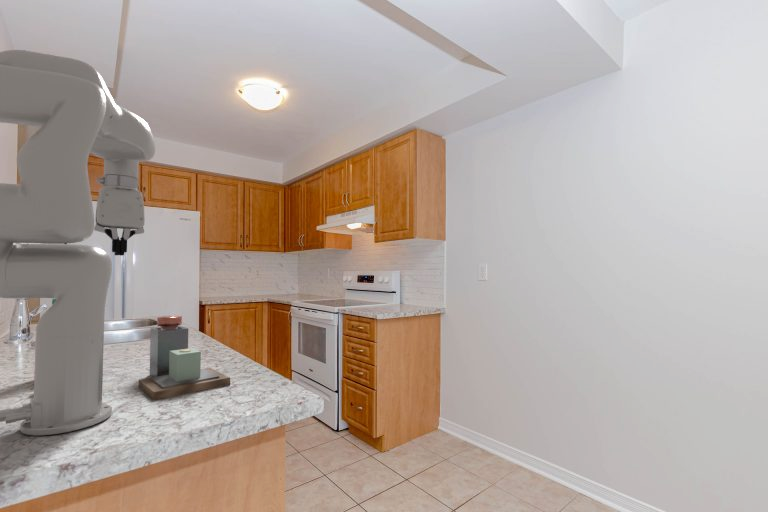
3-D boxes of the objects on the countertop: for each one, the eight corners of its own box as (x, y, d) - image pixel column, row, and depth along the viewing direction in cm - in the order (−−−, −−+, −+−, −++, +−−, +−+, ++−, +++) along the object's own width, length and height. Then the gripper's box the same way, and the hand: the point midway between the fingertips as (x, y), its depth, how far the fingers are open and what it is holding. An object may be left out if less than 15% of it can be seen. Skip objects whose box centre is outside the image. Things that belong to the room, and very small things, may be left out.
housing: (177, 381, 86) (177, 354, 87) (168, 376, 91) (169, 350, 91) (200, 377, 90) (200, 350, 90) (191, 372, 94) (191, 347, 94)
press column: (157, 380, 95) (158, 331, 95) (149, 374, 100) (150, 328, 100) (187, 374, 100) (188, 328, 100) (178, 370, 105) (179, 325, 105)
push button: (159, 355, 96) (160, 318, 96) (153, 351, 100) (154, 317, 100) (184, 351, 100) (184, 317, 100) (177, 348, 104) (178, 315, 104)
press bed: (153, 400, 80) (153, 390, 80) (138, 386, 89) (138, 378, 89) (230, 384, 91) (230, 375, 91) (209, 373, 100) (209, 366, 101)
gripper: (87, 177, 92) (85, 253, 92) (157, 187, 103) (155, 255, 102) (83, 183, 98) (80, 254, 97) (150, 191, 108) (148, 256, 107)
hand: (119, 255), depth 100 cm, fingers closed
